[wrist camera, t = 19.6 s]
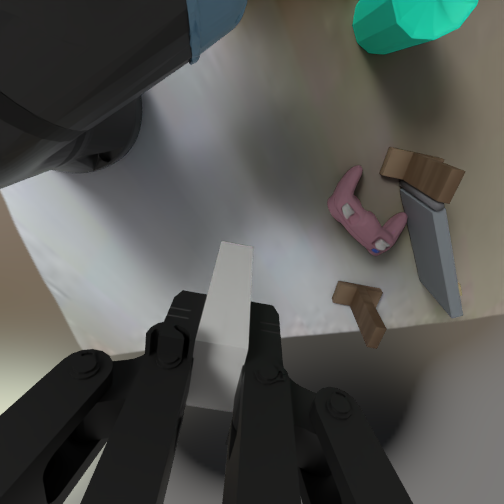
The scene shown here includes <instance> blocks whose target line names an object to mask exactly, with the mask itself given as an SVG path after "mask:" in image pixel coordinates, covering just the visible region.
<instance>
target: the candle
mask: <svg viewBox="0 0 504 504" xmlns="http://www.w3.org/2000/svg"><path fill="white" fill-rule="evenodd" d="M477 3H478V0H359V2H358V3H357V5H356V8H355V13H354V19H353V25H352V26H353V30H354V33H355V37H356V40H357V43H358V44H359V45H360V46H361V47H362V48H364V49H365V50H366V51H367V52H368V53H372V54H384V55H385V54H388V53H391V52H395V51H398V50H402V49H405V48H409V47H412V46H415V45H419V44H422V43H426V42H429V41H432V40H435V39H437V38H439V37H441V36H443V35H446V34H448V33H450V32H452V31H454V30H456V29H458V28H460V26H461V25H462V24H463V22H464V21H465V20H466V19H467V17H468V16H469V15H470V13H471V12H472V11H473V9H474V8H475V7H476V6H477Z"/></svg>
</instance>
